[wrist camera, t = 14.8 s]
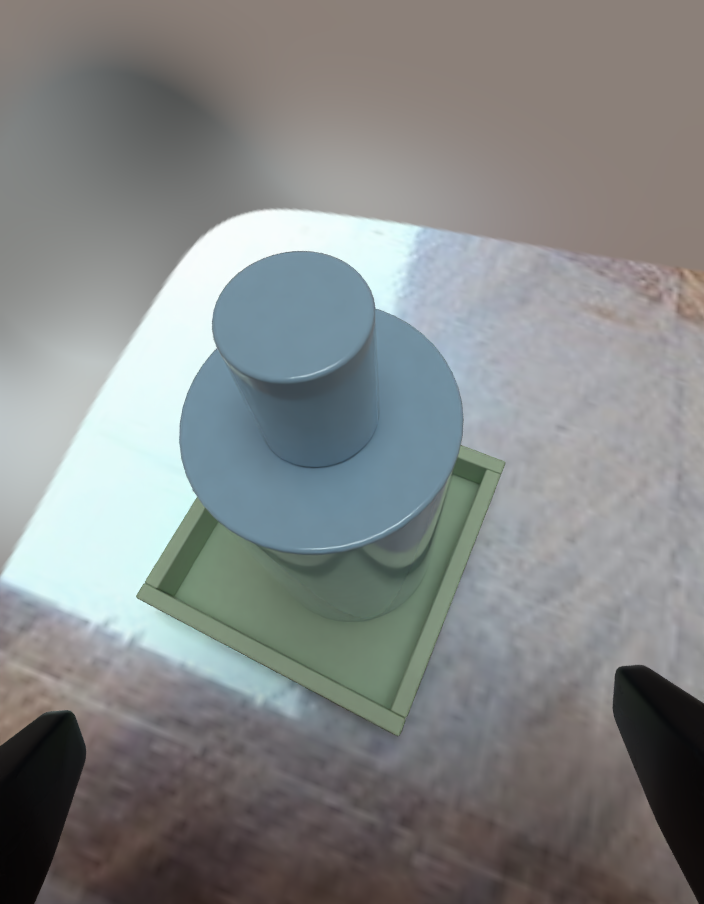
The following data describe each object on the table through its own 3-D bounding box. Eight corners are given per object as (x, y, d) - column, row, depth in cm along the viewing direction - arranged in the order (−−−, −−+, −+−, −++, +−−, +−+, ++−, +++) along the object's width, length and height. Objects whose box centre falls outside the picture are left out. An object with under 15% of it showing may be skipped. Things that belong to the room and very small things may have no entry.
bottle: (463, 575, 18) (573, 377, 7) (310, 653, 17) (164, 570, 6) (386, 441, 20) (378, 135, 9) (249, 505, 19) (64, 255, 8)
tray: (398, 733, 16) (399, 737, 15) (161, 607, 19) (134, 597, 17) (495, 484, 20) (506, 461, 18) (283, 401, 22) (272, 373, 20)
